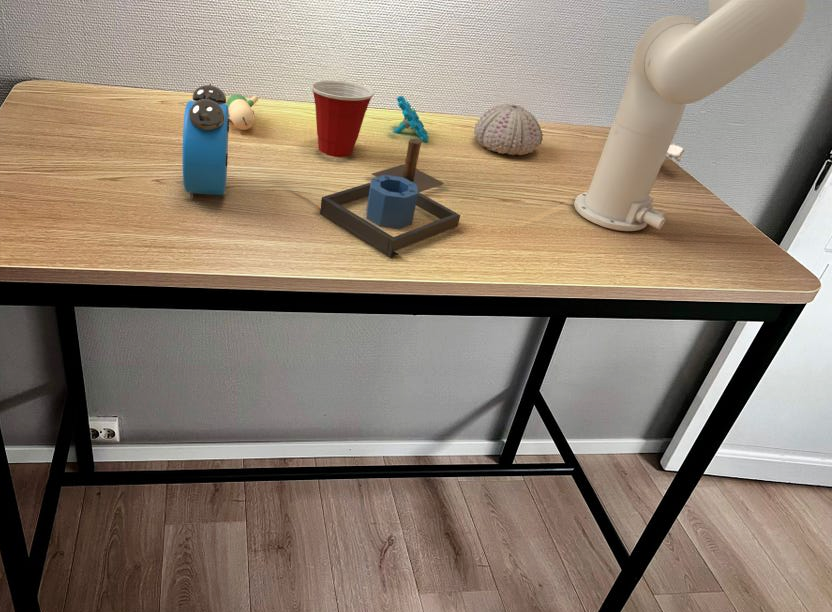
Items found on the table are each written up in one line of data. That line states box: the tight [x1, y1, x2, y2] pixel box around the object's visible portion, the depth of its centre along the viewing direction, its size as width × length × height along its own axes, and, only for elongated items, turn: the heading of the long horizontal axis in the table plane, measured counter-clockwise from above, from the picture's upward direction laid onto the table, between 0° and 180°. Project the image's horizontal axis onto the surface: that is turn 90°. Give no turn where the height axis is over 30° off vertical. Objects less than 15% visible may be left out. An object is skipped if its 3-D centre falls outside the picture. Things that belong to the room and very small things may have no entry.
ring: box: [365, 175, 418, 230], centre depth 109 cm, size 7×7×6 cm
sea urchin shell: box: [473, 103, 544, 156], centre depth 141 cm, size 13×14×8 cm
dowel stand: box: [371, 138, 445, 193], centre depth 121 cm, size 9×9×8 cm
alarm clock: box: [182, 83, 230, 200], centre depth 107 cm, size 13×6×15 cm, turn 6°
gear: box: [391, 95, 429, 143], centre depth 138 cm, size 11×6×10 cm
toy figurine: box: [225, 93, 259, 131], centre depth 133 cm, size 8×4×12 cm
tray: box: [319, 181, 461, 258], centre depth 111 cm, size 15×15×3 cm
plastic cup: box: [310, 79, 375, 158], centre depth 125 cm, size 11×11×12 cm
